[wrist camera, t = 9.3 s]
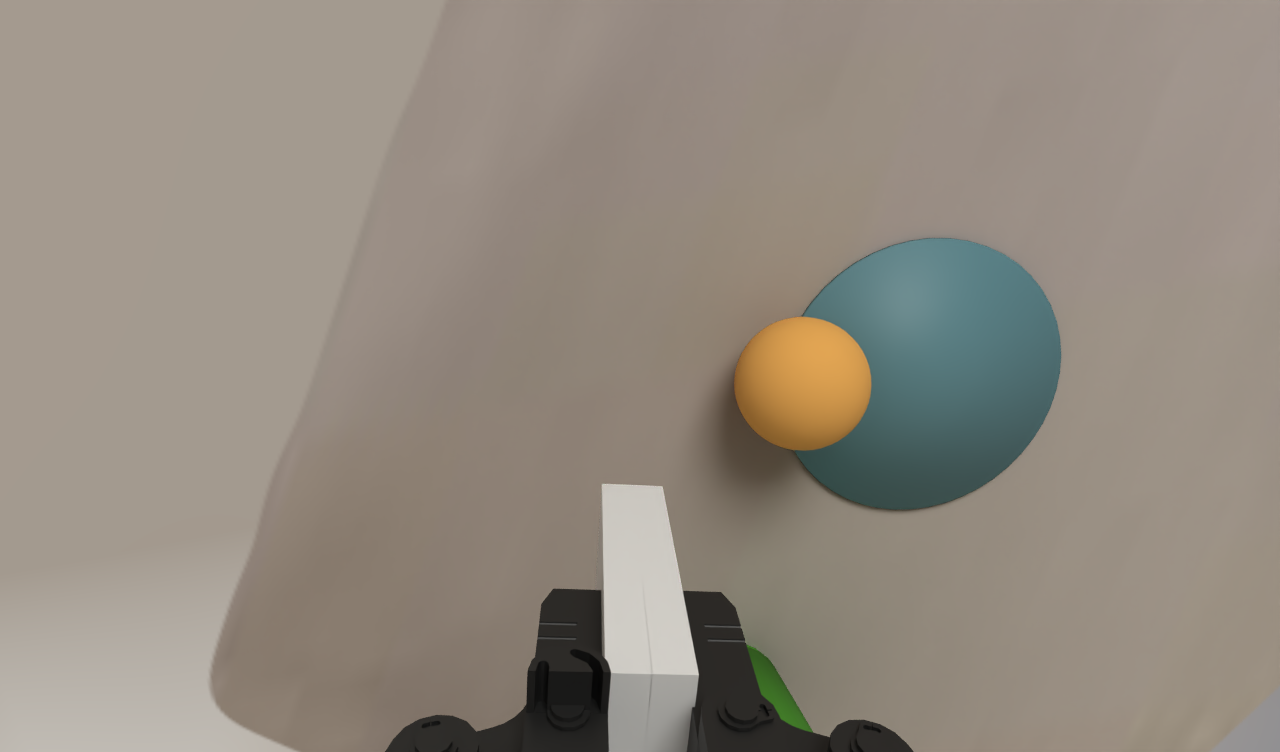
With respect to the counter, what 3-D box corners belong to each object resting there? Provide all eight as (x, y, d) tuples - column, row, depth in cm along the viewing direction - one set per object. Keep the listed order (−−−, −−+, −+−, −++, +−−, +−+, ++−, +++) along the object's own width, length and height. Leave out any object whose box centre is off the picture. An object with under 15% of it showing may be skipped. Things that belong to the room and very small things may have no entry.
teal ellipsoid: (1091, 248, 31) (1094, 249, 31) (1019, 512, 35) (1022, 514, 35) (801, 227, 30) (802, 228, 30) (761, 502, 34) (762, 504, 34)
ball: (711, 326, 28) (760, 307, 32) (715, 459, 29) (761, 423, 33) (854, 330, 25) (885, 309, 30) (852, 478, 26) (882, 435, 31)
